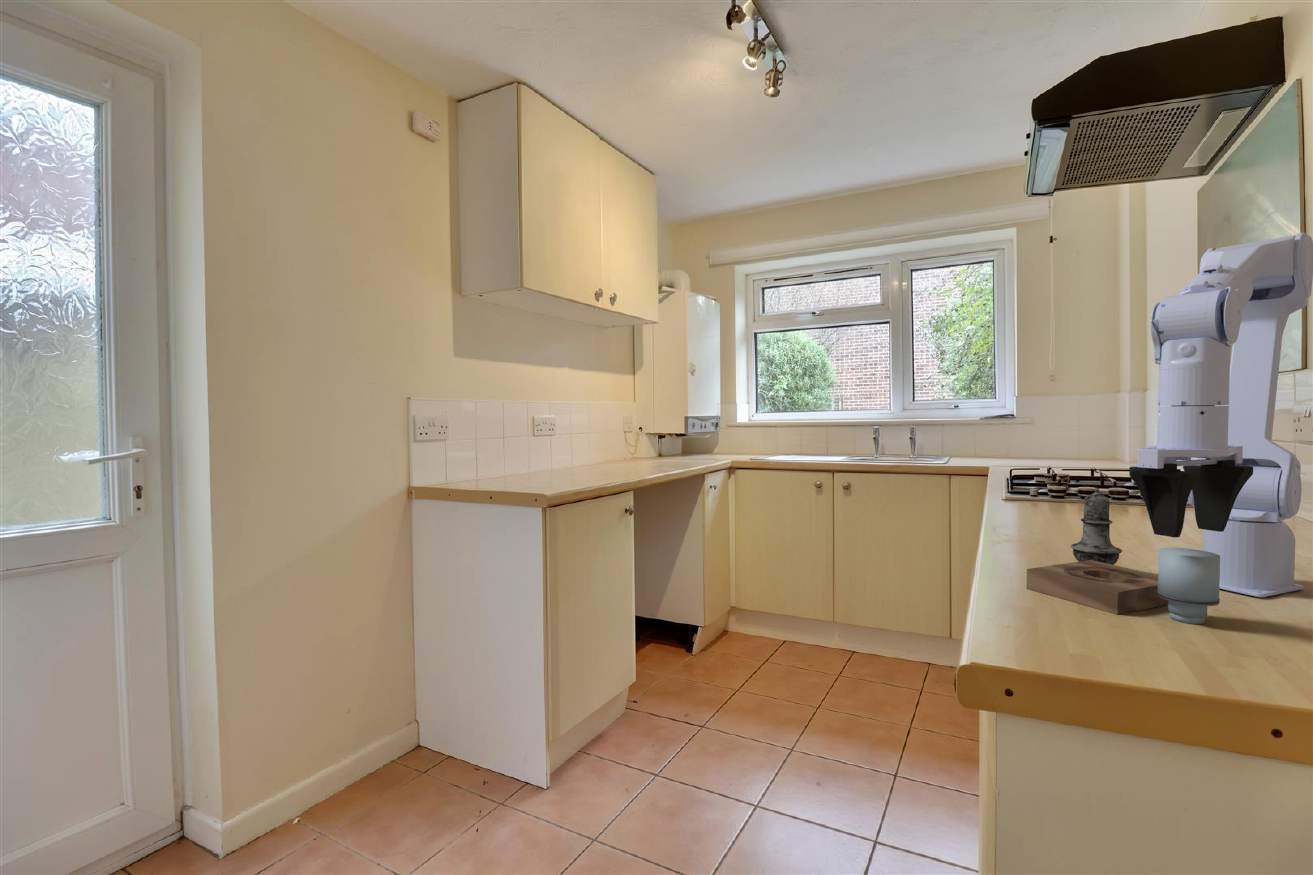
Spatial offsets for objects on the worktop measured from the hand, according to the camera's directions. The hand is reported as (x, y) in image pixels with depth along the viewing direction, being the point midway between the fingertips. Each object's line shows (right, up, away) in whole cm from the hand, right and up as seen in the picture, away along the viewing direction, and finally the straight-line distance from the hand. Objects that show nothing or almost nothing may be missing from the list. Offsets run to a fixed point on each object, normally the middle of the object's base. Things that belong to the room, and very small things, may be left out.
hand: (1189, 532), depth 66 cm
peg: (0, -10, 0) cm, 10 cm away
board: (-2, -9, +10) cm, 13 cm away
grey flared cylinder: (+4, -9, +20) cm, 22 cm away
